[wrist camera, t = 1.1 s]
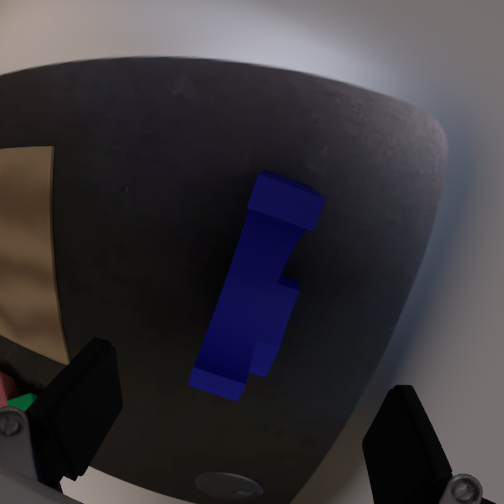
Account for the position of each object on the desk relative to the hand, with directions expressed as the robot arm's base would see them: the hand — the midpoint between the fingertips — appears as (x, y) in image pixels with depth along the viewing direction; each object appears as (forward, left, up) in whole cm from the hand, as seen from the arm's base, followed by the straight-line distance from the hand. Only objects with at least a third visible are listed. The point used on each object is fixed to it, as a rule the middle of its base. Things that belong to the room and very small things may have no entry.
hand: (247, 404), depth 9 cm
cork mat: (+3, -27, -12) cm, 29 cm away
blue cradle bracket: (0, 0, -12) cm, 12 cm away
